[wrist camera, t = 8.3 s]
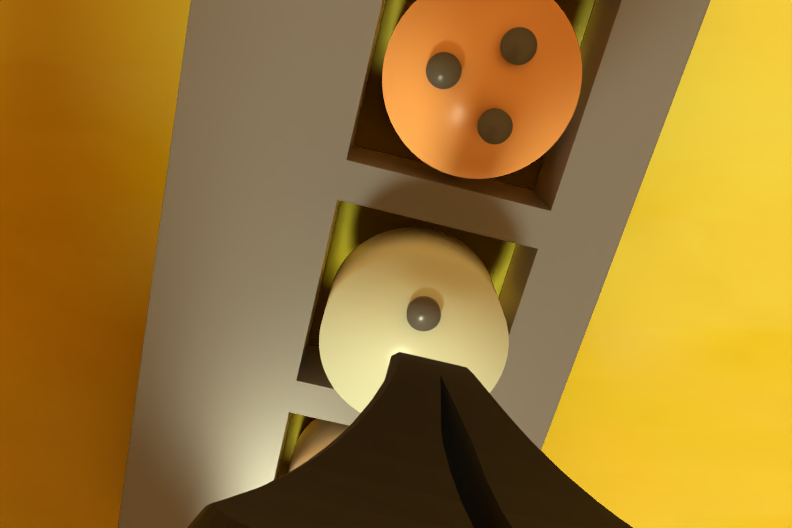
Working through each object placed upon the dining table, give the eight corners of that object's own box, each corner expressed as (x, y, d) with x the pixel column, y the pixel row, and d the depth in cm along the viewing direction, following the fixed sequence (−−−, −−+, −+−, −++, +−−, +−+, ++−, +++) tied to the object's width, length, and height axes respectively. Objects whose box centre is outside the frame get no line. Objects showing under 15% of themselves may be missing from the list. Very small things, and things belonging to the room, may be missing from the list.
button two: (469, 396, 17) (478, 450, 15) (313, 361, 17) (300, 410, 14) (516, 249, 16) (535, 284, 13) (349, 208, 15) (341, 238, 13)
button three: (527, 178, 16) (548, 201, 14) (367, 138, 16) (361, 154, 14) (583, 6, 15) (613, 2, 13) (409, -41, 15) (409, -54, 12)
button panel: (464, 581, 21) (470, 636, 19) (140, 514, 20) (112, 565, 18) (687, -41, 15) (729, -52, 13) (243, -166, 14) (218, -196, 12)
